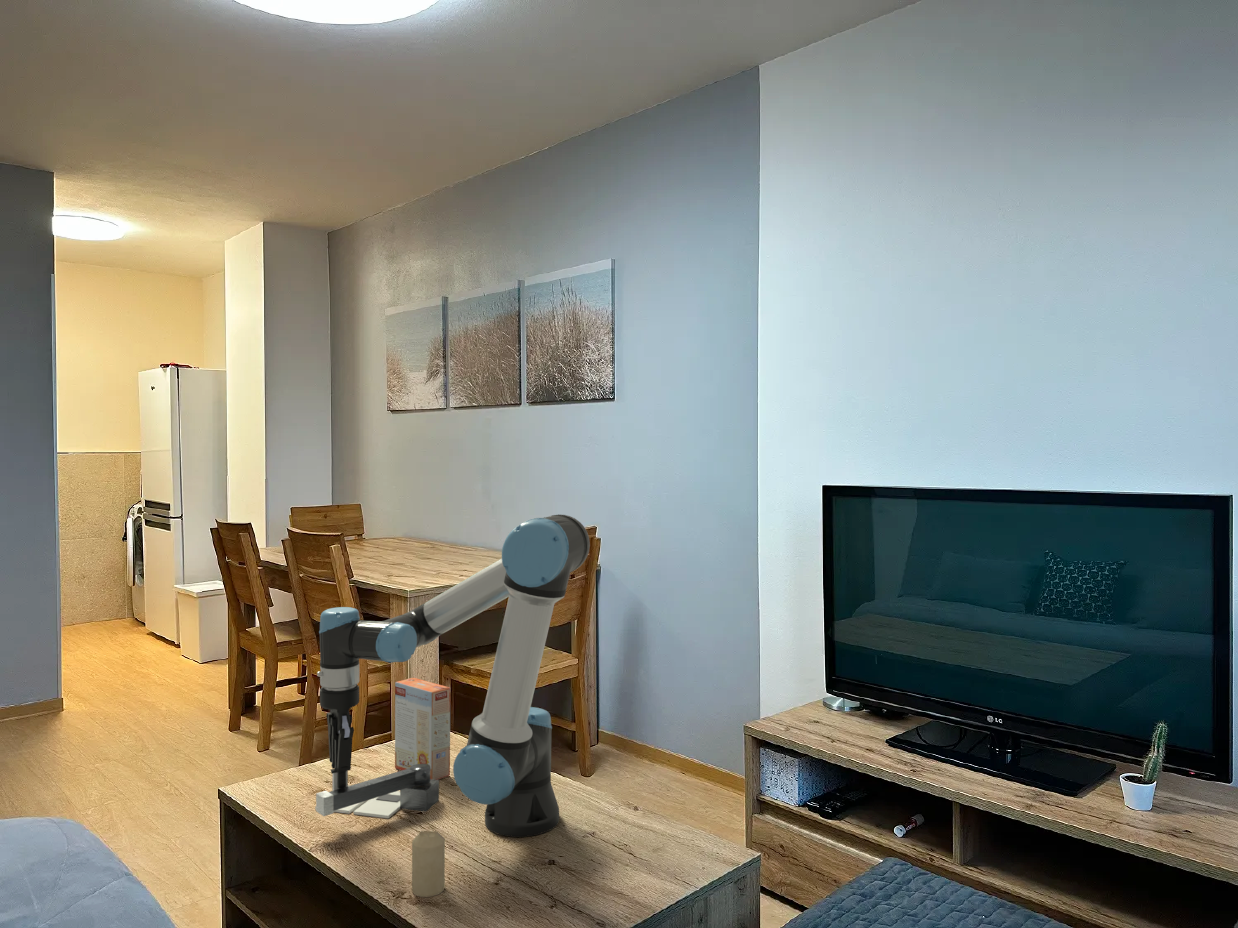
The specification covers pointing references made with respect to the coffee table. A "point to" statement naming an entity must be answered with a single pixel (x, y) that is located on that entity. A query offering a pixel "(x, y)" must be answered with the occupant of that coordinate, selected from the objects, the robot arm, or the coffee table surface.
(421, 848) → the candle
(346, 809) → the label plate
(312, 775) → the coffee table surface
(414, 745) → the cracker box
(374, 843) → the coffee table surface
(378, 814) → the label plate
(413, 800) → the pivot post
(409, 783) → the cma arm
